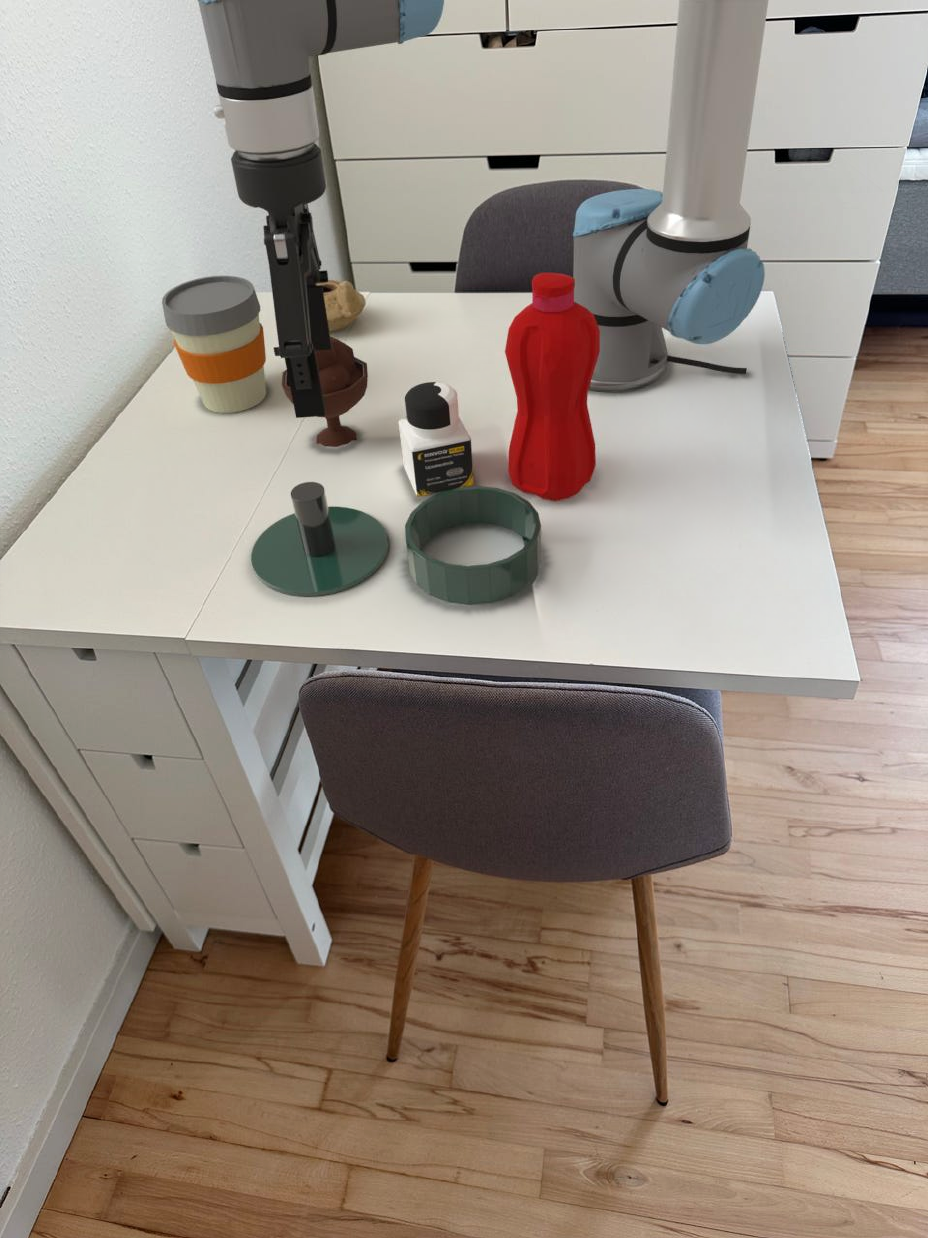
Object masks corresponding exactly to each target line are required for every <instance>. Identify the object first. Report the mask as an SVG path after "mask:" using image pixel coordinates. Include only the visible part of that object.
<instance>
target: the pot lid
mask: <svg viewBox="0 0 928 1238" xmlns="http://www.w3.org/2000/svg"><path fill="white" fill-rule="evenodd" d="M290 499H291V503H292V508H293V512H294V513H291V514H288V515H287V516H284V517H282V518H281V519H279V520H277V521H275V522H274V523H272V524H271V525H270V526H268V527H267V528H266V529H264V530H263V532H262V533H261V534H260V535H259V536H258V538H257V539H256V540H255V542H254V544H253V546H252V550H251V553H250V554H251V555H250V561H251V567H252V569H253V572H254V574H255V576H256V578H257V579H258V580H259V581H260V582H261V583H262V584H263V585H265V586H266V587H268V588H269V589H271V590H273V591H275V592H278V593H281V594H284V595H289V596H296V597H320V596H327V595H333V594H336V593H339V592H343V591H345V590H348V589H350V588H353V587H355V586H357V585H358V584H361V583H363V581H366V580H367V579H369V577H371V576H372V575H374V574H375V572H376V571H377V570H378V569H379V568H380V567H381V566H382V564H383V563H384V560H385V559H386V557H387V554H388V550H389V540H388V535H387V532H386V530H385V528H384V526H383V524H382V523H381V522H380V521H379V520H378V519H376V518H375V517H374V516H372V515H371V514H368V513H367V512H364V511H361V510H359V509H356V508H350V507H345V506H329V505H328V499H327V494H326V489H325V487H324V485H323V484H322V483H320V482H315V481H306V482H302V483H299V484H297V485H295V486H294V487H292V489H291V491H290Z"/></svg>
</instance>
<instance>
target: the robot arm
mask: <svg viewBox="0 0 928 1238" xmlns="http://www.w3.org/2000/svg"><path fill="white" fill-rule="evenodd" d="M197 3H198V7H199V12H200V15H201V20H202V24H203V30H204V33H205V39H206V43H207V47H208V51H209V56H210V61H211V65H212V70H213V74H214V79H215V84H216V90H217V93H218V100H219V103H220V104H218V105H214V110H213V113H214V116H215V117H216V118H218V119H224V122H225V124H224V129H225V134H226V138H227V144H228V146H229V147H230V148H231V149H232V150H234V152H233V154H232V156H231V157H230V162H231V166H232V171H233V176H234V177H233V178H234V181H235V186H236V192H237V195H238V199H240V201H241V203H243V204H245V205H246V206H248V207H251V208H254V209H257V208H259V209H262V210H264V211H266V212H267V215H266V217H265V222H266V224H265V225H263V244H264V245H265V250H266V255H267V261H268V262H267V263H268V269H269V276H270V284H271V286H270V287H271V293H272V301H273V309H274V317H275V327H276V334H277V343H278V346H273V353H274V356H275V357H280V359H284V363H285V366H286V370H287V373H288V378H289V384H290V389H291V394H292V399H293V409H294V413H295V419H299V418H301V419H302V418H315V417H316V416H325V406H324V400H323V394H322V388H321V382H320V376H319V370H318V364H317V358H316V352H315V351H316V350H330V349H331V347H332V346H331V339H330V336H331V332H329V326H328V320H327V313H326V307H325V300H324V294H323V287H322V285H319V286H317V283H326V282H328V280H329V274H328V273H329V272H328V270H327V269H326V270H325V269H324V270H321V268H322V260H321V259H320V254H319V250H318V245H317V241H316V237H315V232H314V223H313V215H312V212H310V208H309V204H311V203H314V202H315V201H317V200H318V199H320V198H321V197H323V195H324V193H325V192H326V190H327V189H326V188H327V184H326V176H325V169H324V162H323V155H322V154H323V153H322V149H321V148H320V147H319V145H317V143H316V142H317V141H318V139H319V137H320V128H319V121H318V116H317V115H318V114H317V113H318V112H317V106H316V99H315V93H314V86H313V81H312V75H311V70H310V57H314V56H316V57H317V56H324V55H327V54H332V53H338V52H345V51H351V50H357V49H363V48H364V49H365V48H370V47H377V46H383V45H390V44H395V43H397V44H398V45H402V44H403V43H405V42H407V41H410V40H414V39H418V38H421V37H425V36H428V35H430V34H431V33H432V32H434V30H435V29H436V28H437V26H438V25H439V23H440V20H441V18H442V15H443V11H444V6H445V0H197ZM768 5H769V0H678V10H677V13H678V14H677V22H676V34H675V46H674V59H673V68H672V81H671V92H670V105H669V118H668V128H667V129H668V130H667V141H666V150H665V151H666V153H665V163H664V176H663V185H662V186H663V187H662V191H661V190H655V189H647V188H630V189H629V188H628V189H620V190H613V191H609V192H604V193H600V194H597V195H594V196H591V197H589V198H587V199H585V200H584V201H583V202H582V203H581V204H580V205H579V206H578V208H577V209H576V212H575V220H574V228H573V229H574V230H573V233H572V237H573V269H572V270H573V276H572V277H573V278H574V279H575V287H574V302H576V303H578V304H580V305H581V306H583V307H585V308H587V309H588V310H589V311H590V312H591V313H592V314H593V315H594V317H595V319H596V322H597V324H598V327H599V330H600V352H599V356H598V359H597V363H596V366H595V369H594V373H593V376H592V380H591V383H590V387H589V390H591V391H596V392H607V393H617V392H618V393H619V392H620V393H621V392H629V391H635V390H639V389H642V388H645V387H649V386H650V385H652V384H653V385H654V383H656V382H658V381H659V380H660V379H661V378H662V377H663V376H665V374H666V372H667V369H668V363H674V364H680V365H685V366H690V367H691V366H692V367H697V368H702V369H707V370H712V371H717V372H721V373H726V374H727V373H728V374H735V375H747V372H748V371H747V370H748V369H747V367H735V366H726V365H722V364H715V363H712V362H706V361H702V360H696V359H690V358H685V357H680V356H673V355H669V354H668V353H669V352H668V347H667V343H666V338H665V335H664V334H665V333H664V330H666V331H668V332H669V333H670V335H671V336H672V337H675V338H678V339H683V340H685V341H687V342H690V343H692V344H695V345H709V344H714V343H716V342H718V341H721V340H723V339H725V338H726V337H728V336H729V335H730V334H732V333H733V332H734V331H735V330H737V328H738V327H739V326H741V324H742V323H743V321H744V320H746V318H748V316H749V315H750V314H751V312H752V310H753V309H754V307H755V306H756V304H757V302H758V300H759V298H760V295H761V293H762V290H763V287H764V282H765V276H766V275H765V274H766V273H765V264H764V262H763V260H761V256H759V255H758V254H757V252H756V251H754V250H753V249H752V248H748V244H749V237H750V232H751V224H752V220H751V216H750V214H749V213H748V212H747V211H746V209H745V208H744V207H743V206H742V205H741V199H742V198H741V197H742V191H743V185H744V184H743V183H744V176H745V169H746V163H747V155H748V147H749V141H750V135H751V127H752V119H753V112H754V107H755V106H754V105H755V98H756V92H757V83H758V77H759V70H760V63H761V57H762V56H761V55H762V49H763V42H764V35H765V28H766V20H767V14H768ZM663 329H664V330H663ZM316 418H317V417H316Z"/></svg>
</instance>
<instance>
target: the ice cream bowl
mask: <svg viewBox="0 0 928 1238" xmlns="http://www.w3.org/2000/svg"><path fill="white" fill-rule="evenodd" d="M330 339H331V346H332V347H331V349H330V350H316V351H315V352H316V358H317V364H318V370H319V376H320V382H321V388H322V394H323V400H324V406H325V416H316V418H324V419H325V420H326V426H327V427H325V428H324V429H323V430H321V431H320V432H319V433H318V434H316V445H319V444H320V445H321V446H323V447H329V448H338V447H342V446H345V445H348V444H349V443H351V442H352V441H357V440H358V436H357V435H358V434H357V432H356V431H355V430H354V429H353V428H351V427H349V426H348V425H342V424H341V420H340V416H342V415H345V414H346V413H347V412H349V411H350V410H351V409H352V408H353V407H354V406H356V405H357V404H358V403H359V402H360V401H361V400H362V399H363V398H364V396H365V394H366V392H367V389H368V381H369V375H368V374H369V373H368V363H367V362H366V361H364V360H361V359H360V358H357V357H355V353H354V349H353V348H352V347H351V346H349V345H348V344H346V343H345V342H343V341H341V340H340V339H339V338H336V337H334V336H332V335H330ZM281 375H282V377H281V378H282V379H281V387H282V390H283V392H284V395H285V397H287V399H288V400H289V401H290V402H291V404H293V399H292V394H291V389H290V384H289V378H288V373H287V369H285V370H284V371H283V372H282V374H281ZM293 405H294V404H293Z"/></svg>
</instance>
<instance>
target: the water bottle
mask: <svg viewBox="0 0 928 1238" xmlns="http://www.w3.org/2000/svg"><path fill="white" fill-rule="evenodd" d="M574 287H575V279H574V278H573V276H571V275H568V274H564V273H559V272H540V273H537V274H536V275H534V276H533V278H532V280H531V289H532V292H531V294H532V296H531V297H532V298H531V299H532V302H531V303H530V304H528V305H527V306H525V307H524V308H523V309H522V310H521V311H519V313H517V315H515V316H514V317H513V319H512V321H511V324H510V325H509V327H508V330H507V335H506V336H507V337H506V341H505V348H504V354H505V358H506V361H507V366H508V369H509V373H510V378H511V381H512V385H513V388H514V393H515V397H516V407H517V410H516V411H517V412H516V416H515V420H514V425H513V429H512V434H511V438H510V441H509V447H508V455H507V456H508V461H507V472H508V476H509V479H510V482H511V485H512V486H513V487H514V488H516V489H518V490H519V491H521V492H522V493H525V494H530V495H535V496H536V497H539V498H541V499H542V500H547V501H550V502H551V501H552V502H558V501H563V500H568V499H571V498H572V497H574V496H575V495H577V494H579V493H580V492H581V491H582V489H584V487H585V485H587V484H588V483H589V482H591V479H592V476H593V474H594V471H595V468H596V465H597V464H596V463H597V461H596V460H597V459H596V458H597V457H596V442H595V437H594V432H593V427H592V422H591V416H590V412H589V408H588V407H589V406H588V395H589V394H588V393H589V390H590V389H589V387H590V383H591V380H592V376H593V373H594V369H595V366H596V363H597V359H598V356H599V352H600V330H599V327H598V324H597V322H596V319H595V317H594V315H593V314H592V313H591V312H590V311H589V310H588V309H587V308H585V307H583V306H581V305H580V304H578V303H576V302H574Z"/></svg>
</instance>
